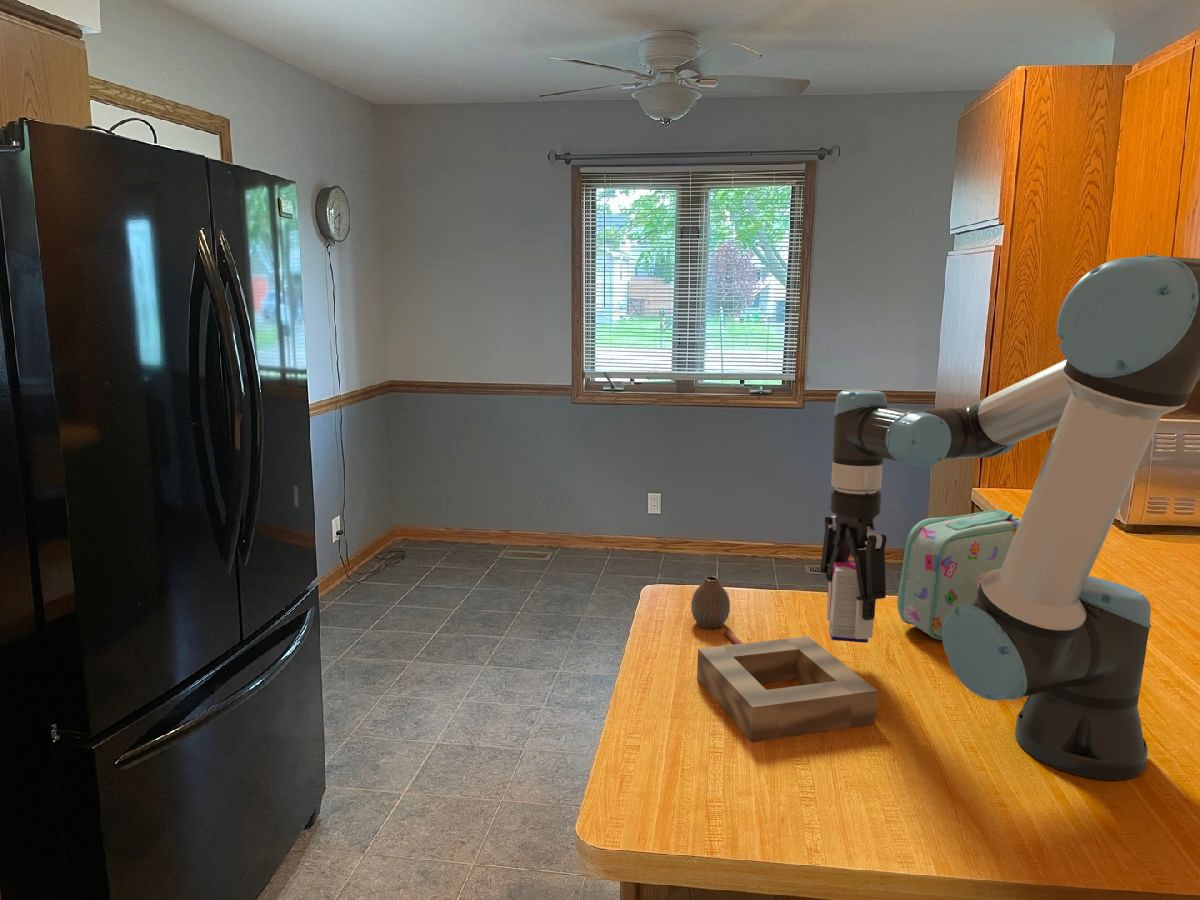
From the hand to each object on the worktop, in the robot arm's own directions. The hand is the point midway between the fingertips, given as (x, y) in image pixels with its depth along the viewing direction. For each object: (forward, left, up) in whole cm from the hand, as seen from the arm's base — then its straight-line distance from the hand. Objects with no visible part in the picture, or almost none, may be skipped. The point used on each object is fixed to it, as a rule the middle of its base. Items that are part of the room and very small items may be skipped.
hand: (848, 628), depth 133 cm
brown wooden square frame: (-8, +16, -6) cm, 19 cm away
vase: (+21, +15, -6) cm, 26 cm away
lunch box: (+9, -30, -6) cm, 32 cm away
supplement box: (0, 0, -1) cm, 1 cm away
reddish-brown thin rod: (+10, +14, -6) cm, 18 cm away
